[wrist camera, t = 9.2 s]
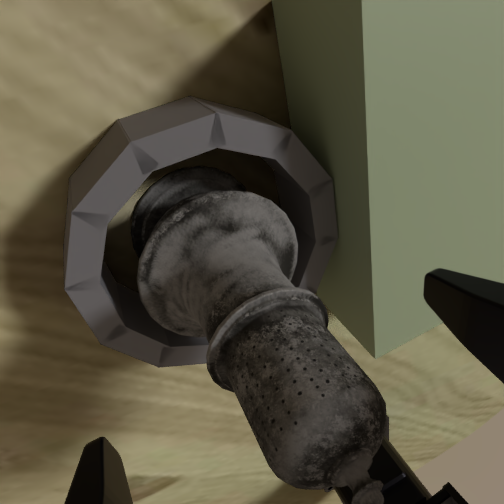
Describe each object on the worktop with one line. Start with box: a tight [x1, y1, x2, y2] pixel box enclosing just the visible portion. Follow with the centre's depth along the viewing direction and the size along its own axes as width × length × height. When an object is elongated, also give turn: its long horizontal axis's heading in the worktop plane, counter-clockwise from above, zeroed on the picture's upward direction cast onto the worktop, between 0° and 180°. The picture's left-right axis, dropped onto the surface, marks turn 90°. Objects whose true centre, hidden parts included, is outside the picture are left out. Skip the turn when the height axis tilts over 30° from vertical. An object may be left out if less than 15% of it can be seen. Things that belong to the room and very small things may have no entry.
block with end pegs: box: [63, 0, 504, 368], centre depth 15 cm, size 17×20×5 cm
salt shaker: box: [131, 166, 387, 504], centre depth 12 cm, size 6×6×12 cm
